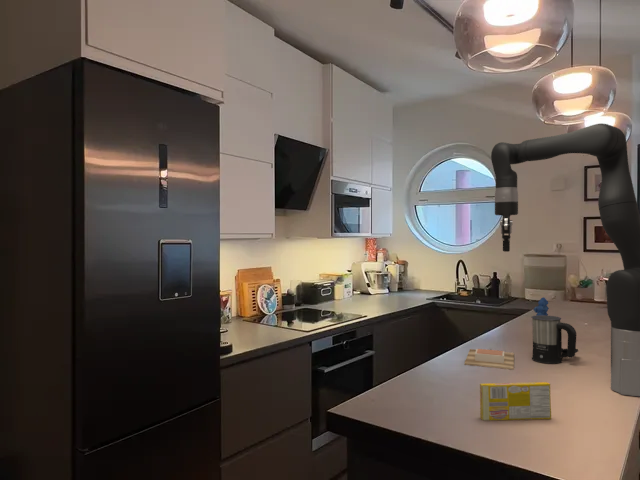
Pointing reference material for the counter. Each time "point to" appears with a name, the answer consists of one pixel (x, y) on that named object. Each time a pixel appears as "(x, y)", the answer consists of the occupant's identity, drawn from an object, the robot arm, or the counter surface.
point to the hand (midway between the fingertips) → (506, 251)
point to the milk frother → (551, 339)
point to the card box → (489, 355)
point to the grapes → (542, 307)
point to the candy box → (515, 401)
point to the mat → (506, 365)
